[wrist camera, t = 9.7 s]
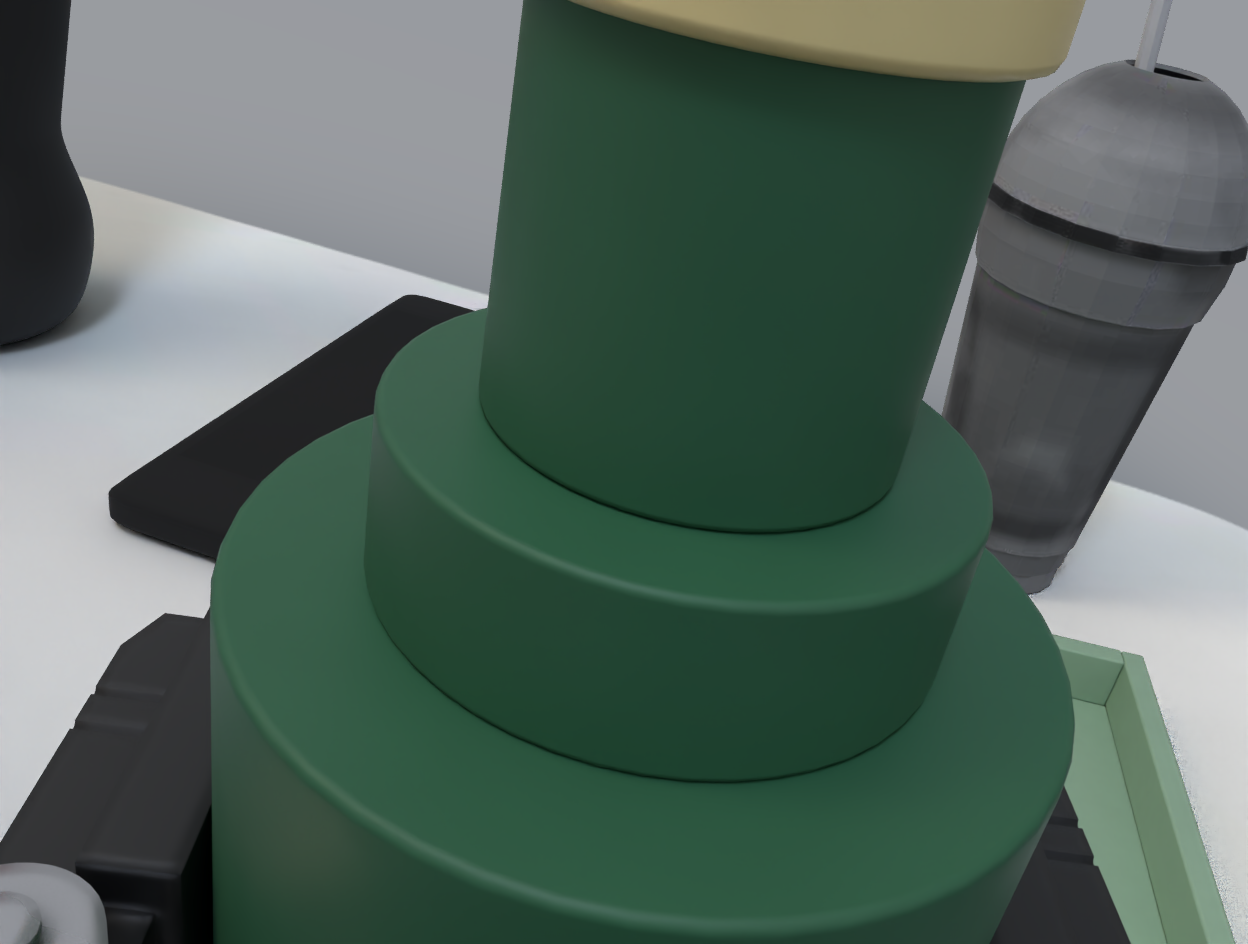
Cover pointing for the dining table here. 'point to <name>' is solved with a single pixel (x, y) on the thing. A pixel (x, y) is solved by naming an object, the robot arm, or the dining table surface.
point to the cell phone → (267, 431)
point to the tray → (1137, 802)
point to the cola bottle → (38, 176)
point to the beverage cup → (1091, 286)
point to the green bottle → (663, 526)
